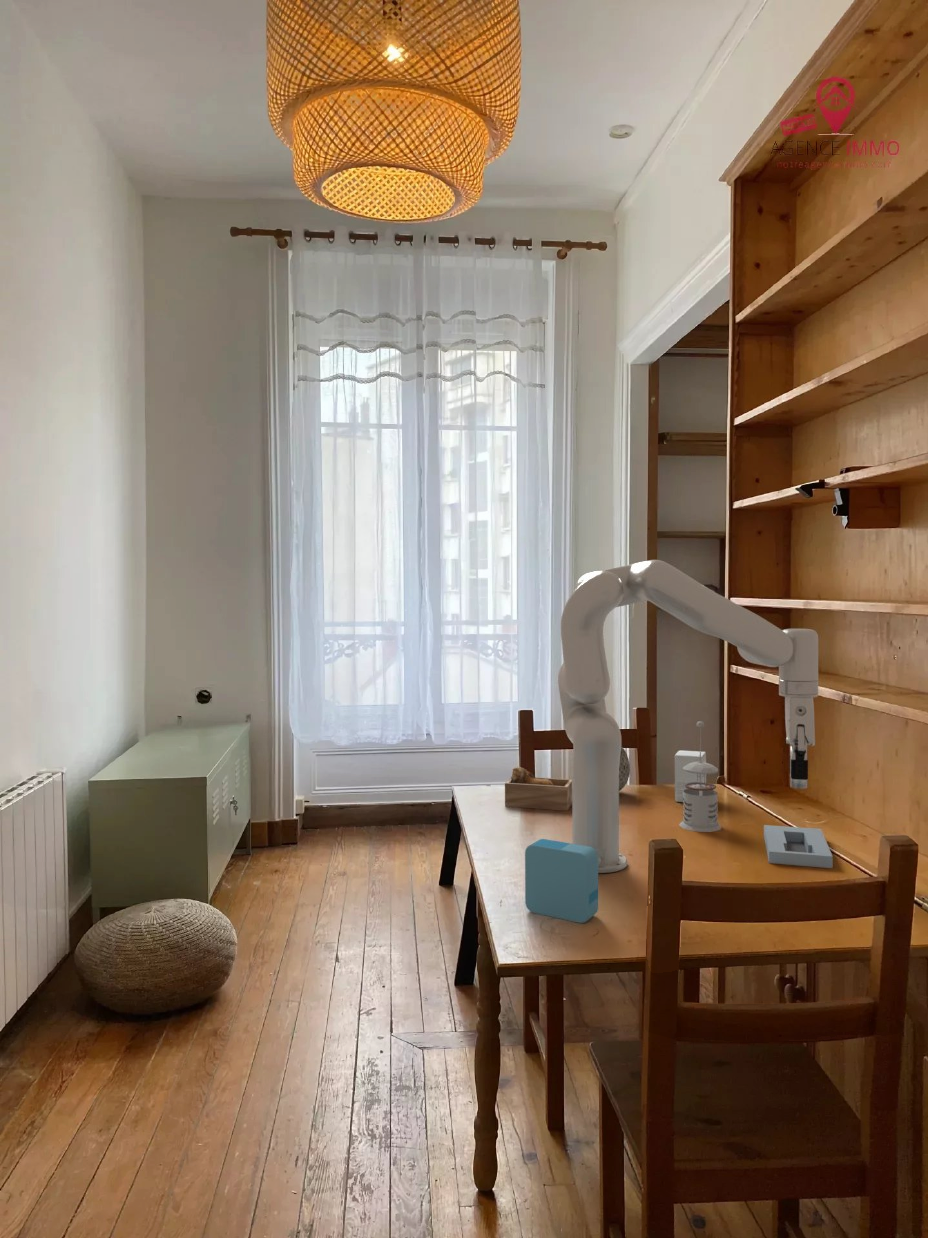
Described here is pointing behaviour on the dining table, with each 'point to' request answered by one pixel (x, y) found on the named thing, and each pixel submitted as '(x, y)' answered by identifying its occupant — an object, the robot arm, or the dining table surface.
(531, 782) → the lion figurine
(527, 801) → the open wooden box
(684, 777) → the supplement box
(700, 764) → the french press
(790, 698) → the robot arm
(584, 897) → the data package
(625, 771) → the decorative egg
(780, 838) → the keyhole board
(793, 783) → the metal peg
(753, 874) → the dining table surface
